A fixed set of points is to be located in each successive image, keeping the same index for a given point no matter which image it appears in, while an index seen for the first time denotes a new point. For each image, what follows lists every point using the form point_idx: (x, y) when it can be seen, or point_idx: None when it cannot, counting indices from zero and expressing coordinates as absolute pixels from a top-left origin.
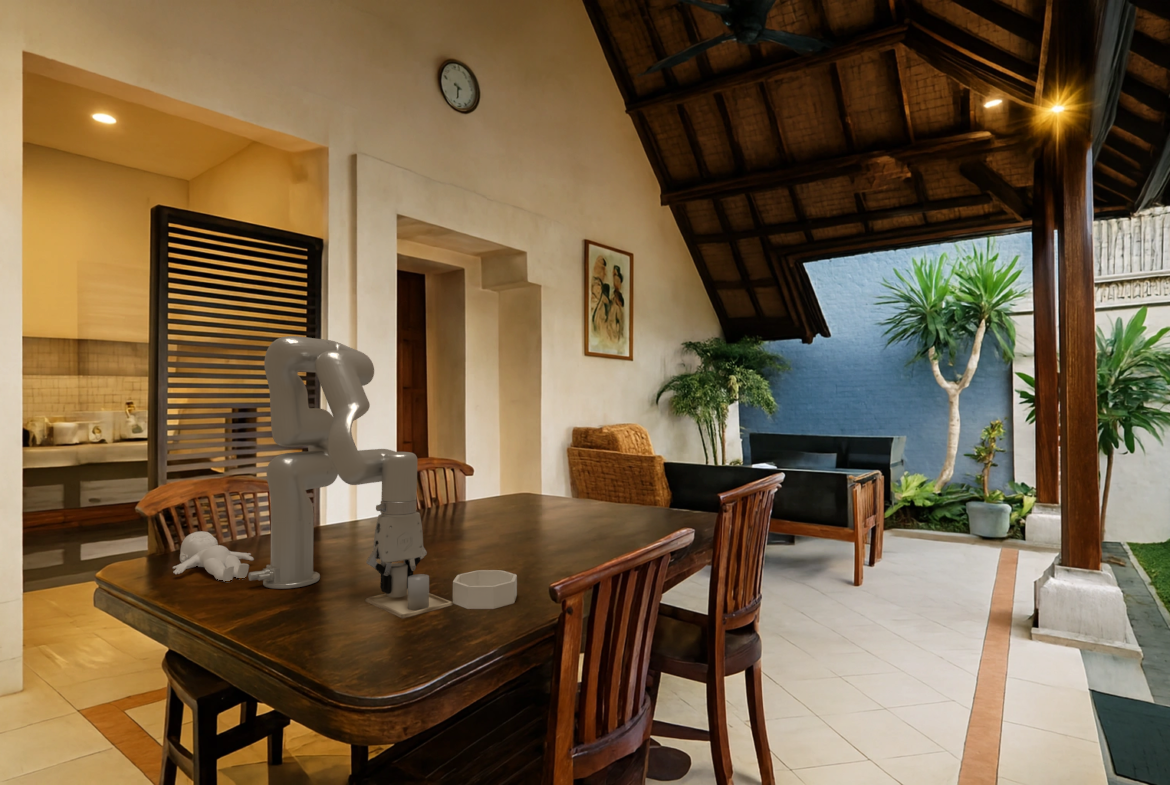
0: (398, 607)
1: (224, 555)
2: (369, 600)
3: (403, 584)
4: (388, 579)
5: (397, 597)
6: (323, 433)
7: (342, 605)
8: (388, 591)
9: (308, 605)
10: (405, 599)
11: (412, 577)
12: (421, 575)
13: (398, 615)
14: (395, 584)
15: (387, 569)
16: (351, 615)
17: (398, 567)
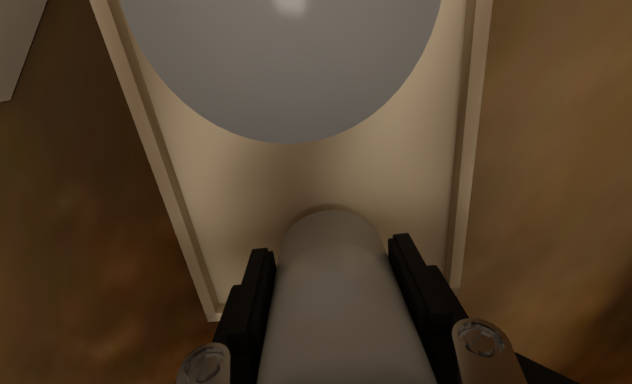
0: (393, 99)
1: None
2: (461, 261)
3: (317, 250)
4: (438, 295)
5: None
6: None
7: (528, 300)
8: (410, 239)
9: (601, 356)
10: (300, 207)
11: (369, 13)
12: (215, 37)
13: None
14: (374, 260)
15: (495, 371)
16: (601, 158)
17: (373, 376)
